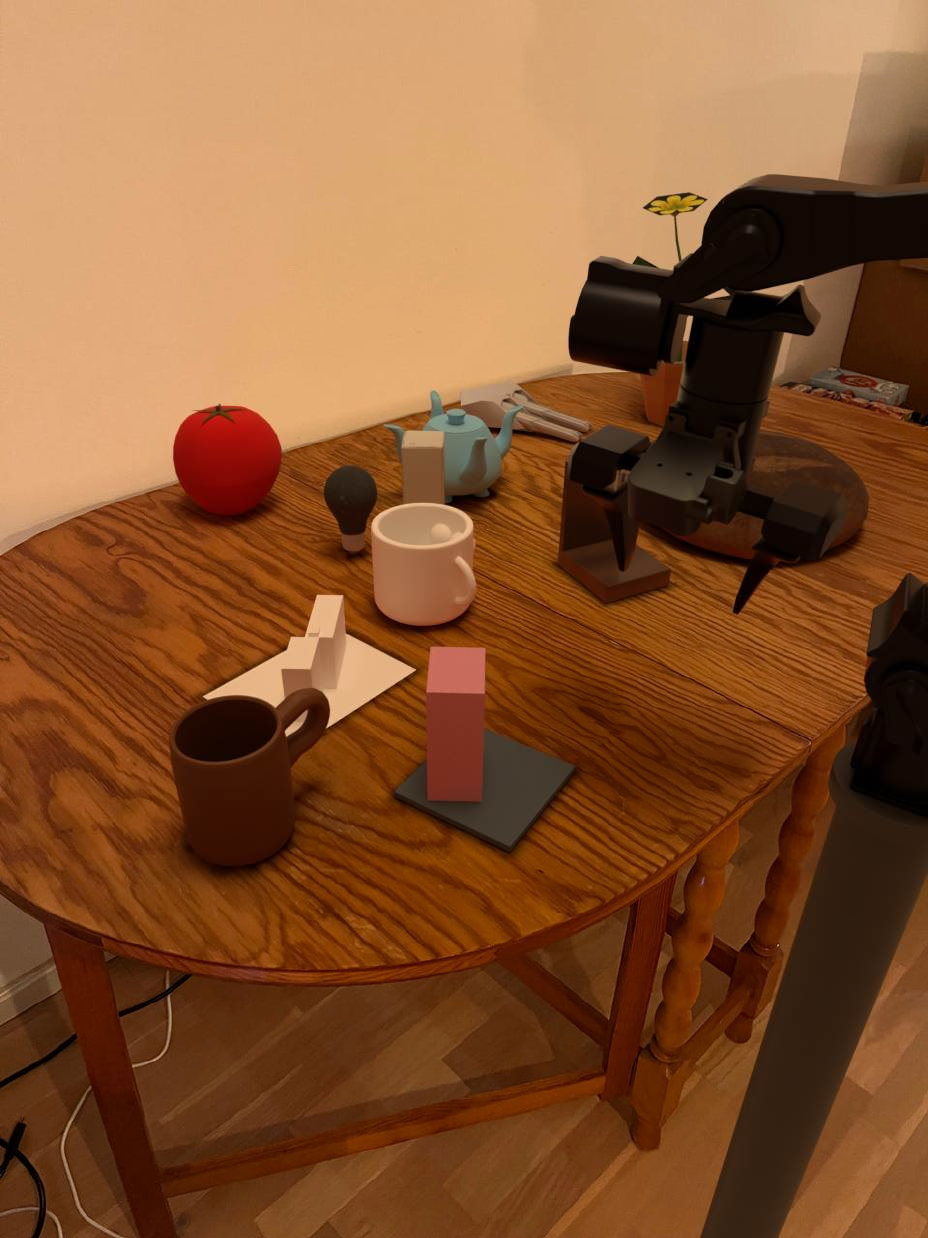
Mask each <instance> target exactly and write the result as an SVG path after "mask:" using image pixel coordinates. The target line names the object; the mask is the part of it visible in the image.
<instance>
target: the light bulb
mask: <svg viewBox="0 0 928 1238" xmlns="http://www.w3.org/2000/svg"><path fill="white" fill-rule="evenodd" d="M377 487H378V486H377V484H376V480H375V479H374V478H373V476H372V475H371V474H370V472H368V471H367V470H366V469H365V468H363V467H361V466H358V465H353V464H348V465H347V464H346V465H342V466H340V467H337V468H336V469H334V470H333V471H332V472H331V473H330V474H329V476H328V477H327V478H326V481H325V483H324V487H323V496H324V501H325V504H326V506H327V509H328V510H329V511H330V513H331V514H332V515H333V517H334V519H335V520H336V522H337V524H338V529H339V531H340V533H341V534H340V535H341V545H342V548H343V549H344V550H345V551H347V552H349V553H350V554H353V555H355V554H358V553H359V552H360V551H361V550H362V549H364V548H365V546H366V545H365V544H366V534H365V532H366V529H367V522H368V520H369V517H370V515H371V513H372V512H373V510H374V508H375V507H376V504H377V499H378V488H377Z"/></svg>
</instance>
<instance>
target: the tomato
mask: <svg viewBox="0 0 928 1238" xmlns="http://www.w3.org/2000/svg"><path fill="white" fill-rule="evenodd" d="M192 412H193V413H191V414H190V415H188V416H187V417H186V418H185V419H184V420H183V421H182V422H181V423H180V424H179V427H178V429H177V432H176V434H175V437H174V441H173V445H172V462H173V467H174V473H175V475H176V477H177V480H178V482H179V485H180V486H181V488H182V489H183V492H184V493H185V494H186V495H187V496H188V497H189V498H190V499H191V501H193V503H194V504H196V505H197V506H199V508H202V509H203V510H205V511H206V512H208V513H211V514H215V515H220V516H221V515H222V516H236V515H241V514H244V513H246V512H249V511H251V510H253V509H254V508H256V507H257V506H258V505H259V504H260V503H261V502H263V501H264V500H265V498H266V497H268V495H269V493H270V492H271V490H272V489H273V487H274V485H275V483H276V481H277V478H278V476H279V474H280V470H281V466H282V459H283V449H282V445H281V441H280V439H279V436H278V434H277V432H276V431H275V430H274V428H273V426H272V425H271V424H270V423H269V422H268V421H267V420H266V418H264V417H263V416H262V415H260V414H259V412H256V411H255V410H252V409H249V408H248V407H246V406H242V405H221V403H219V404H216V405H213V406H209V407H206V408H203V409H195V410H192Z"/></svg>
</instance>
